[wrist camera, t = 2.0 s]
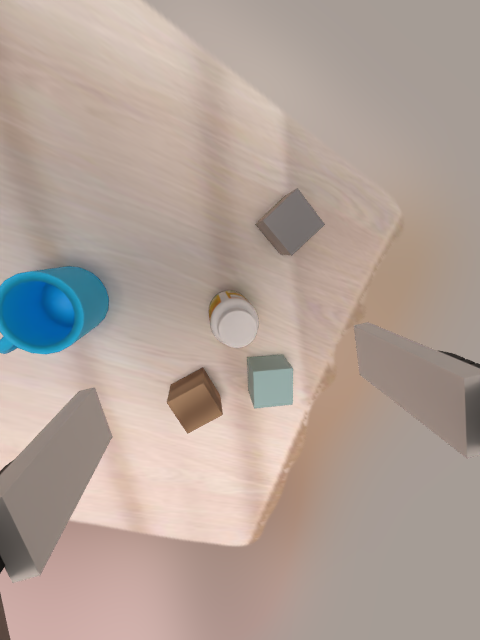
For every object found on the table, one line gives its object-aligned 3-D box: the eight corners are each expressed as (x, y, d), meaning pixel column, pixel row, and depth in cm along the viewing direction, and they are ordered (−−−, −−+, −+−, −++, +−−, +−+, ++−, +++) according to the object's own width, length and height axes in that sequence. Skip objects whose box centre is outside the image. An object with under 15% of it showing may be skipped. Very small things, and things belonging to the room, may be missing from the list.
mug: (75, 252, 35) (38, 253, 27) (123, 305, 37) (102, 320, 29) (-2, 313, 36) (-60, 332, 28) (50, 362, 38) (10, 392, 30)
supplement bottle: (217, 336, 40) (223, 363, 30) (202, 299, 38) (202, 316, 29) (255, 320, 40) (271, 343, 30) (240, 283, 38) (253, 295, 29)
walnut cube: (170, 384, 41) (166, 402, 36) (203, 367, 41) (203, 383, 36) (189, 412, 42) (187, 433, 37) (220, 395, 42) (222, 414, 37)
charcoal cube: (255, 224, 37) (262, 220, 32) (284, 196, 37) (297, 188, 32) (280, 254, 38) (291, 255, 33) (309, 227, 38) (324, 224, 33)
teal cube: (247, 357, 41) (253, 371, 36) (282, 354, 42) (292, 368, 37) (248, 390, 42) (254, 408, 37) (282, 386, 43) (292, 404, 38)
